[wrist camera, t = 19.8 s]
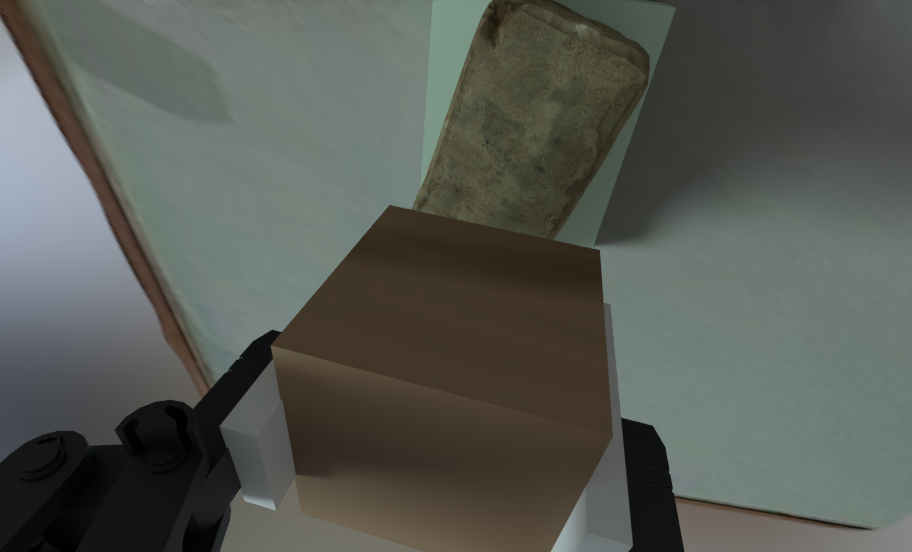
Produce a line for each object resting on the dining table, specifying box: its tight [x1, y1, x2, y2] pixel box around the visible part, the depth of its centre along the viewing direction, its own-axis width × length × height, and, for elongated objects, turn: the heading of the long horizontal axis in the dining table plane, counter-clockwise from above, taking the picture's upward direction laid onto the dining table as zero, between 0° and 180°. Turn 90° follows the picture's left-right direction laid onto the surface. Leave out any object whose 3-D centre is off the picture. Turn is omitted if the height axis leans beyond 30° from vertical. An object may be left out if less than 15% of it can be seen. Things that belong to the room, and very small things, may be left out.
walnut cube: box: [271, 205, 613, 552], centre depth 12 cm, size 6×6×6 cm
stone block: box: [412, 0, 650, 240], centre depth 18 cm, size 6×12×5 cm, turn 161°
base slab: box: [420, 0, 676, 249], centre depth 21 cm, size 12×9×3 cm
